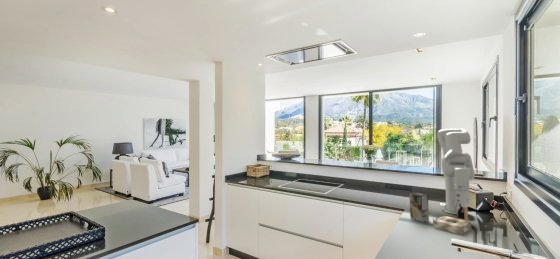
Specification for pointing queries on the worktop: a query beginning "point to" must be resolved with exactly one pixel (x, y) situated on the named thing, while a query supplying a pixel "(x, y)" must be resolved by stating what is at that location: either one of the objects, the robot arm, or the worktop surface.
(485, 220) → the worktop surface
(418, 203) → the coffee box
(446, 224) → the socket
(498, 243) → the worktop surface
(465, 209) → the peg
